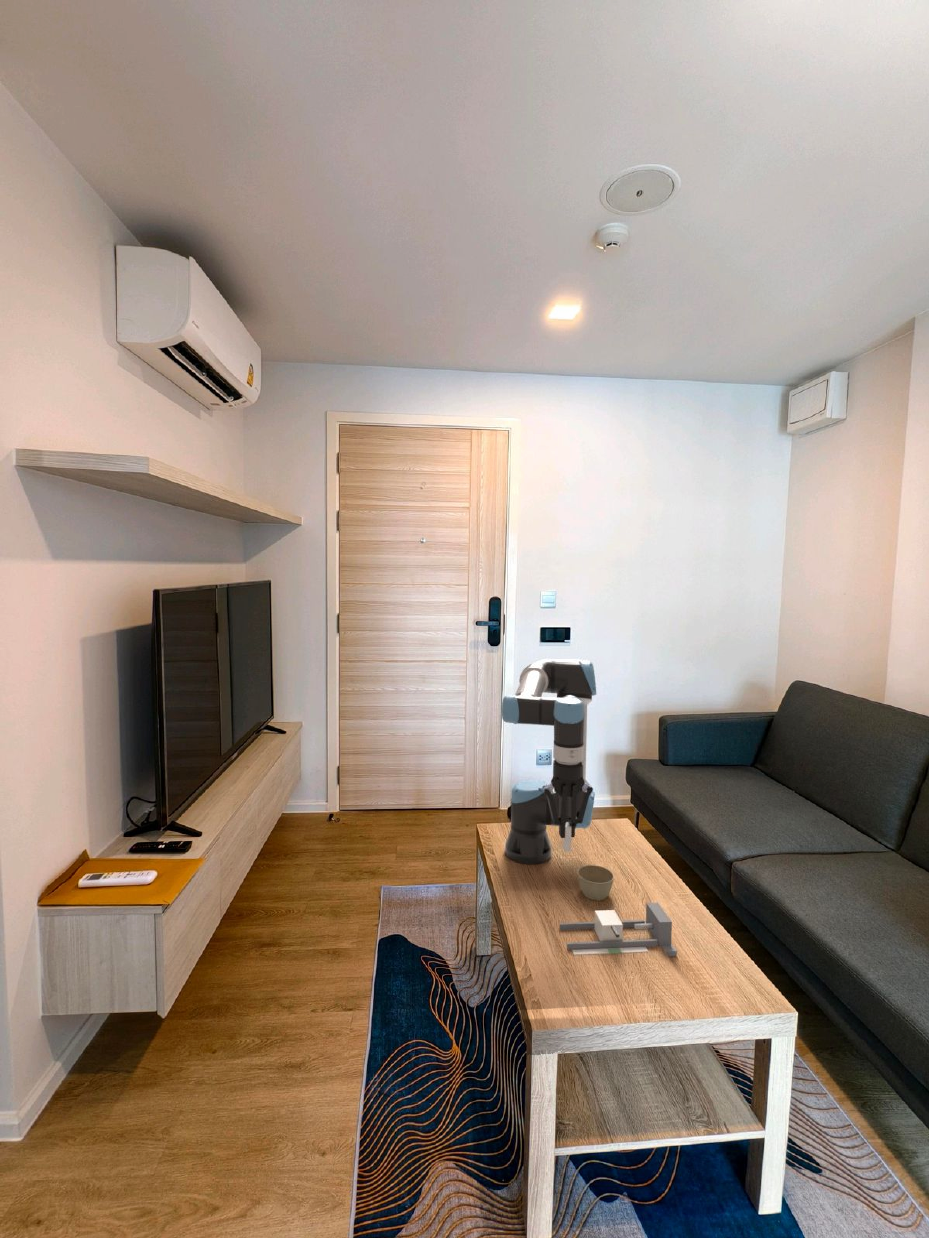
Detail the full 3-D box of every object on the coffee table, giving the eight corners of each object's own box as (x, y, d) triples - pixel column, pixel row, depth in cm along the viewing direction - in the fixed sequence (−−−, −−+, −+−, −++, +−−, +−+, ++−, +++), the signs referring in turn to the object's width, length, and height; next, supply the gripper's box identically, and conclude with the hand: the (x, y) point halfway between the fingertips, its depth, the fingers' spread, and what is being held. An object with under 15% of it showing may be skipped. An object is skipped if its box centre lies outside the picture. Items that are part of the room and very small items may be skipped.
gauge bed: (549, 928, 140) (550, 901, 140) (655, 924, 143) (656, 898, 142) (561, 960, 129) (561, 931, 128) (676, 955, 131) (677, 926, 130)
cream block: (594, 929, 138) (594, 910, 138) (613, 928, 139) (614, 909, 138) (606, 954, 129) (607, 934, 128) (627, 954, 129) (628, 933, 129)
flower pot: (614, 910, 149) (615, 885, 148) (577, 906, 151) (577, 880, 150) (612, 890, 158) (612, 866, 158) (577, 886, 160) (577, 862, 160)
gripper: (546, 766, 134) (545, 857, 137) (598, 764, 136) (596, 855, 138) (539, 755, 142) (538, 842, 144) (588, 754, 143) (586, 840, 145)
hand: (566, 848), depth 141 cm, fingers closed
